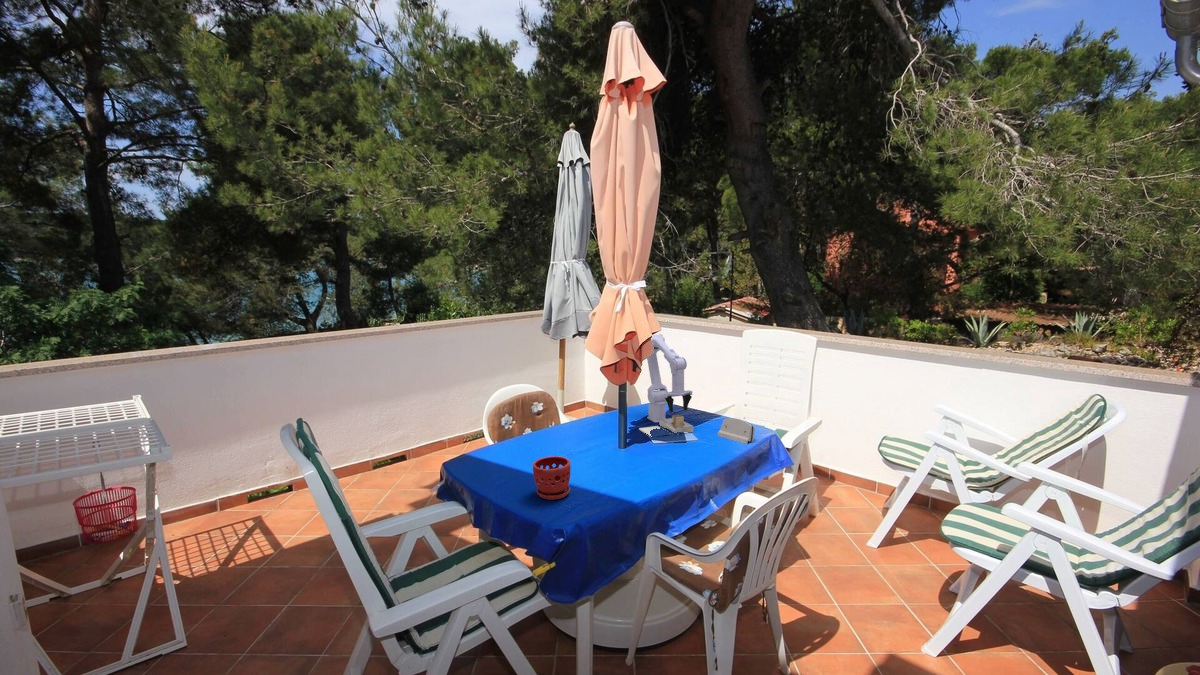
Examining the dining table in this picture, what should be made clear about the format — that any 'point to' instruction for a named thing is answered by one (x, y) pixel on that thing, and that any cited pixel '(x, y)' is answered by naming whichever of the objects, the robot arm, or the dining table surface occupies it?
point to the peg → (677, 420)
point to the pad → (648, 429)
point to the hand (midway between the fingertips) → (678, 410)
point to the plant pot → (552, 477)
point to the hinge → (737, 430)
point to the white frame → (668, 424)
